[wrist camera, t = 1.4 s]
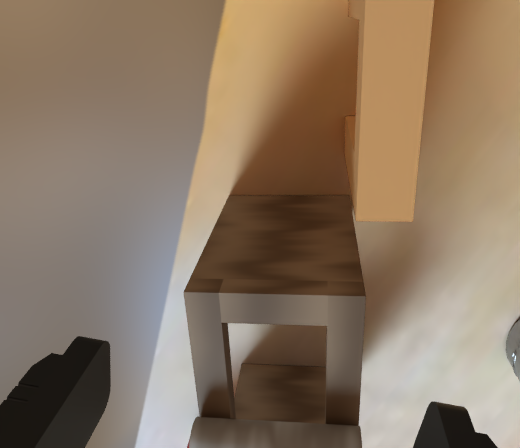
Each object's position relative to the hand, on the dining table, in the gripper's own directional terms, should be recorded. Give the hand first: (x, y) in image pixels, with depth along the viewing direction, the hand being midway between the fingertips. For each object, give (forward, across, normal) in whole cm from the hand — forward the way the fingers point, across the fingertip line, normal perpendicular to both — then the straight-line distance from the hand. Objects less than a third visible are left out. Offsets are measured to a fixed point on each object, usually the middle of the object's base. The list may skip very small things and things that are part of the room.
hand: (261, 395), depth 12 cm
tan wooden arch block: (+28, -4, -5) cm, 29 cm away
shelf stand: (+28, -1, +15) cm, 32 cm away
